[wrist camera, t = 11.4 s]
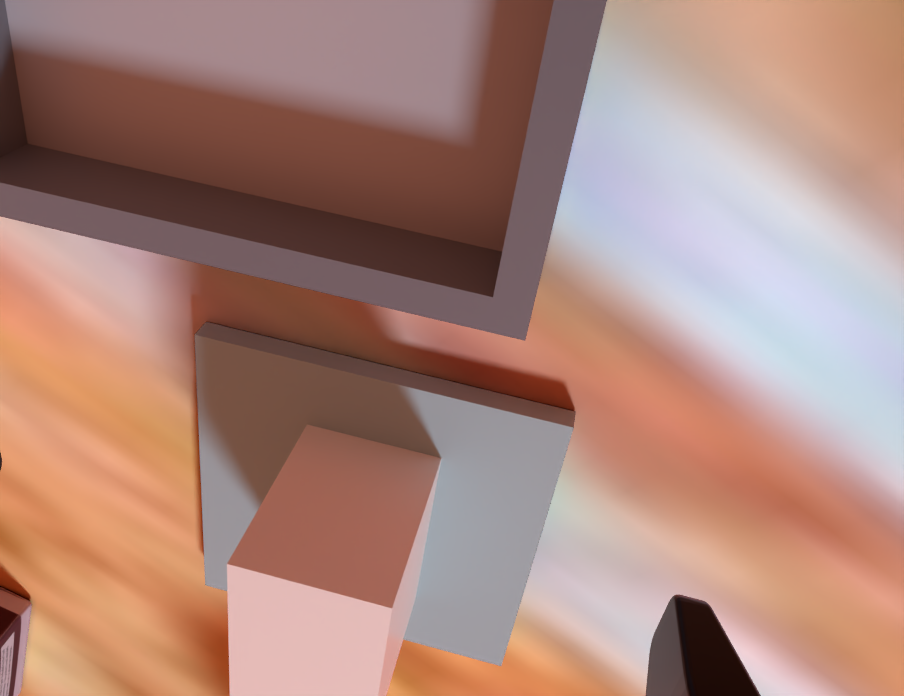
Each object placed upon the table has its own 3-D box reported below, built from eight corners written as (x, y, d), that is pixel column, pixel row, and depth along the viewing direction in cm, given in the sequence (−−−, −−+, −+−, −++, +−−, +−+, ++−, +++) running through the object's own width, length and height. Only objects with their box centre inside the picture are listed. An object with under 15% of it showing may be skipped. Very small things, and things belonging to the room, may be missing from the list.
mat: (575, 411, 24) (573, 427, 24) (504, 648, 31) (500, 666, 30) (206, 321, 25) (194, 334, 25) (214, 569, 32) (205, 585, 32)
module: (441, 457, 25) (392, 608, 20) (415, 598, 29) (368, 753, 24) (306, 424, 26) (226, 563, 21) (299, 567, 30) (230, 713, 25)
